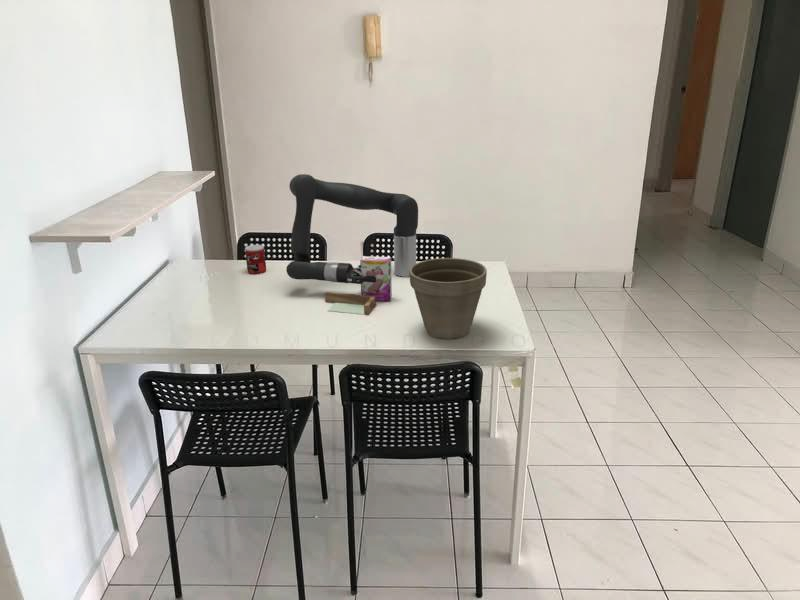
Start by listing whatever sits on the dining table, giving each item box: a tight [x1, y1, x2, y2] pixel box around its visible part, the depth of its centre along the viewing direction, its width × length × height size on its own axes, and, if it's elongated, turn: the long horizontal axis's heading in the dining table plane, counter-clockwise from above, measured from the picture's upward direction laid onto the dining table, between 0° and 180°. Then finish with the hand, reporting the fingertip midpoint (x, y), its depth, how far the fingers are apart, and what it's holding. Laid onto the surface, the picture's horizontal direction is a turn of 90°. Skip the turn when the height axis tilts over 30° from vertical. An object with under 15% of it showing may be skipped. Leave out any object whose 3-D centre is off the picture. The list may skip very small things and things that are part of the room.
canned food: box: [244, 244, 267, 275], centre depth 258 cm, size 8×8×11 cm
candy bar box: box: [359, 255, 393, 303], centre depth 225 cm, size 11×5×16 cm, turn 84°
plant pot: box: [409, 257, 488, 340], centre depth 197 cm, size 25×25×22 cm
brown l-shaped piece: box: [324, 291, 377, 316], centre depth 220 cm, size 10×20×4 cm, turn 75°
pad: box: [327, 303, 364, 315], centre depth 219 cm, size 8×14×1 cm, turn 75°
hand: (379, 275), depth 224 cm, fingers open, 8 cm apart
